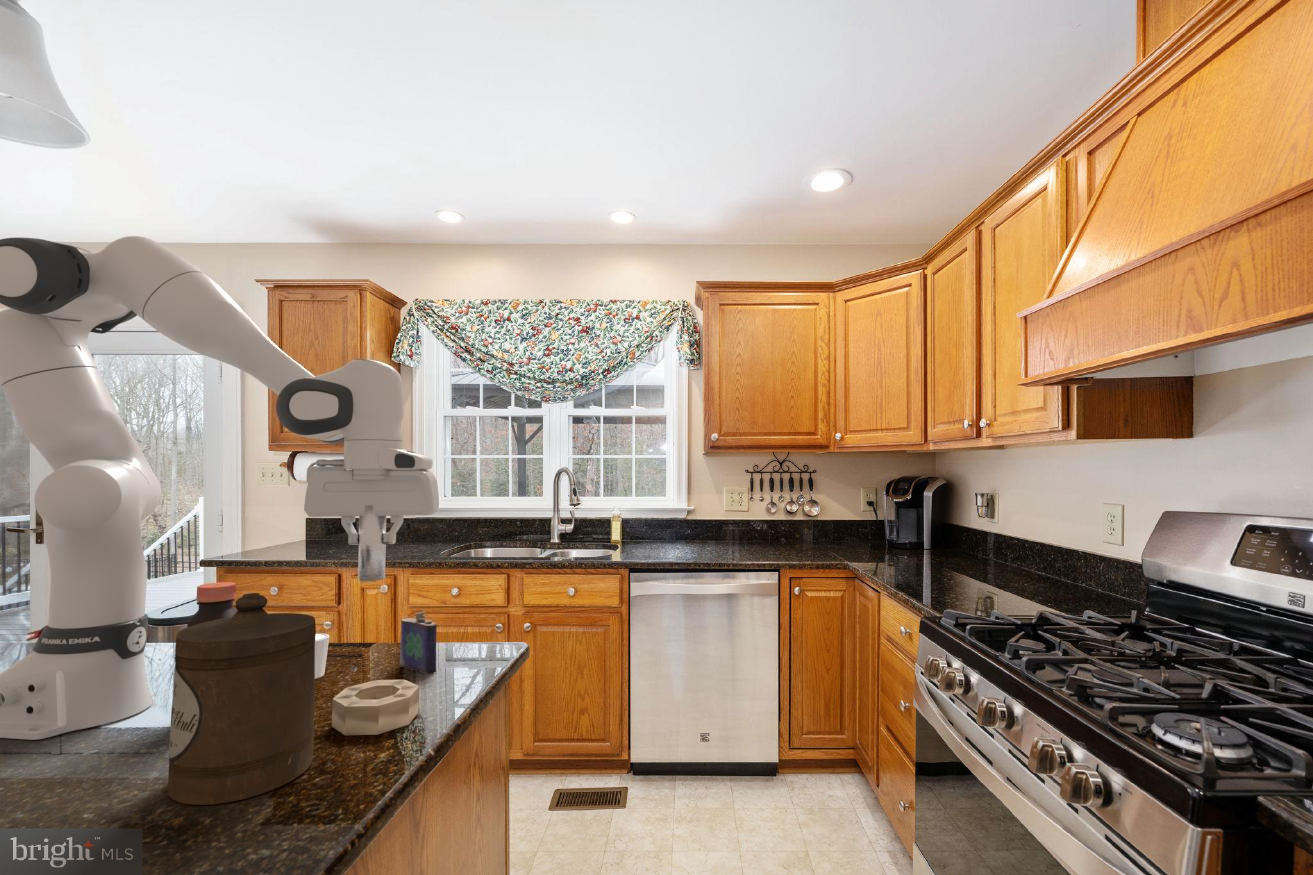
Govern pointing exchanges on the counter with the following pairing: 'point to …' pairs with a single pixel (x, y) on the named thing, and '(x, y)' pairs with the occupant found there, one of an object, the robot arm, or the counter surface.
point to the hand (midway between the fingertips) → (372, 544)
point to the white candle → (371, 546)
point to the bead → (375, 707)
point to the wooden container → (242, 704)
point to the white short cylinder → (320, 653)
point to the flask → (418, 644)
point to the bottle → (214, 602)
